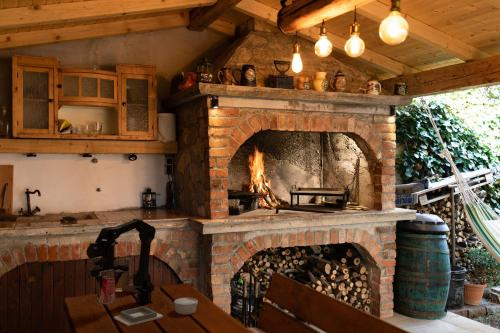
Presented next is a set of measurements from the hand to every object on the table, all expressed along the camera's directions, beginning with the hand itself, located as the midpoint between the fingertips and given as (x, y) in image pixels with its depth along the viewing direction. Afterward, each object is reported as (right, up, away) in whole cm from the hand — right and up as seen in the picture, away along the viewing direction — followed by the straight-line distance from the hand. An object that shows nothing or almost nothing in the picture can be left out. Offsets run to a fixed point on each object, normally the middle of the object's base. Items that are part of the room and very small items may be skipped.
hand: (107, 288), depth 214 cm
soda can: (-1, -7, 0) cm, 7 cm away
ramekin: (+36, -14, +8) cm, 39 cm away
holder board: (+15, -13, -3) cm, 20 cm away
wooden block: (+1, -13, +40) cm, 42 cm away
